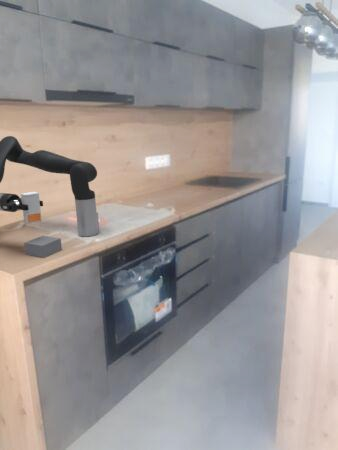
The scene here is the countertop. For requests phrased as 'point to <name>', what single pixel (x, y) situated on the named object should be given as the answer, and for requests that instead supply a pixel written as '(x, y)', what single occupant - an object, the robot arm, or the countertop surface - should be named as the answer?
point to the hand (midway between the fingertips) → (35, 205)
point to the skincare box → (31, 207)
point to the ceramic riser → (43, 246)
